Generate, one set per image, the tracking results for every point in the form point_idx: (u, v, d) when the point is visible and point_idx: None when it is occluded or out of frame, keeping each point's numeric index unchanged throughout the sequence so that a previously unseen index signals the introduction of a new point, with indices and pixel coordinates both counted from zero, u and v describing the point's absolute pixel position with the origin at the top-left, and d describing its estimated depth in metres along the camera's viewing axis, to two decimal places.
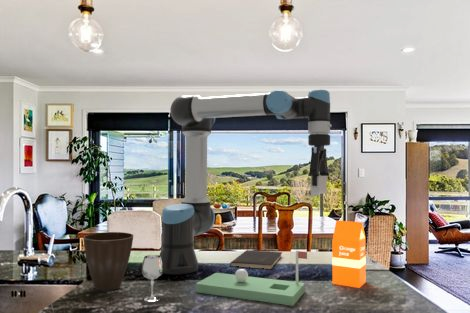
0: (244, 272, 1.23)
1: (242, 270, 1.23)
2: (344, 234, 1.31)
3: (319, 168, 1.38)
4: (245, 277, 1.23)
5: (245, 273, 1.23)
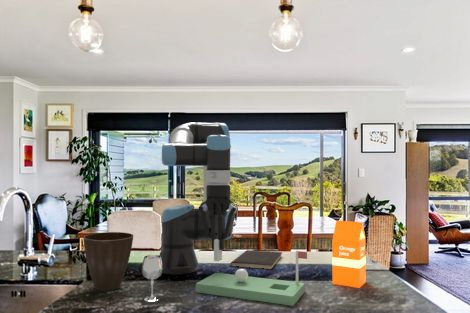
0: (244, 272, 1.23)
1: (242, 270, 1.23)
2: (344, 234, 1.31)
3: (213, 227, 1.27)
4: (245, 277, 1.23)
5: (245, 273, 1.23)
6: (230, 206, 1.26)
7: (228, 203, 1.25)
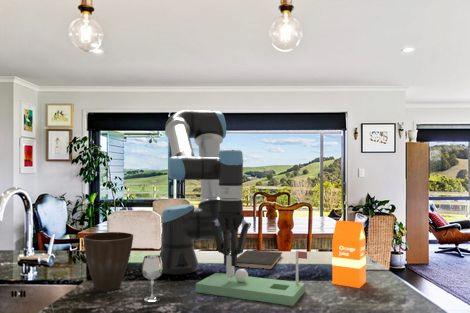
0: (244, 272, 1.23)
1: (242, 270, 1.23)
2: (344, 234, 1.31)
3: (226, 243, 1.25)
4: (245, 277, 1.23)
5: (245, 273, 1.23)
6: (243, 222, 1.24)
7: (241, 219, 1.23)
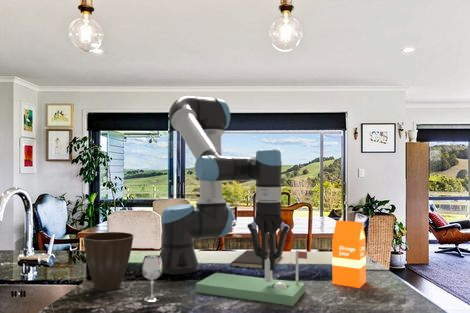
0: None
1: (284, 286, 1.18)
2: (344, 234, 1.31)
3: (264, 247, 1.20)
4: None
5: None
6: (282, 224, 1.19)
7: (280, 221, 1.19)
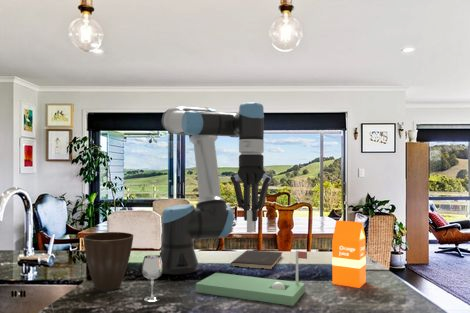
0: (283, 287, 1.18)
1: (281, 284, 1.18)
2: (344, 234, 1.31)
3: (246, 198, 1.23)
4: None
5: (283, 288, 1.18)
6: (264, 176, 1.22)
7: (262, 173, 1.21)
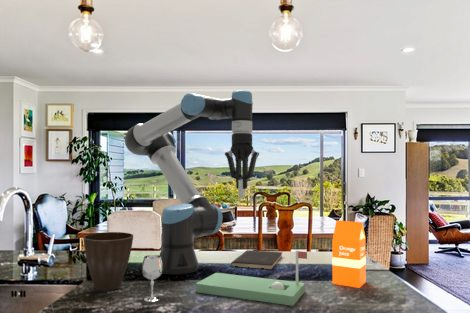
0: (282, 286, 1.18)
1: (279, 284, 1.18)
2: (344, 234, 1.31)
3: (238, 169, 1.48)
4: None
5: (282, 287, 1.18)
6: (252, 151, 1.47)
7: (251, 148, 1.47)
